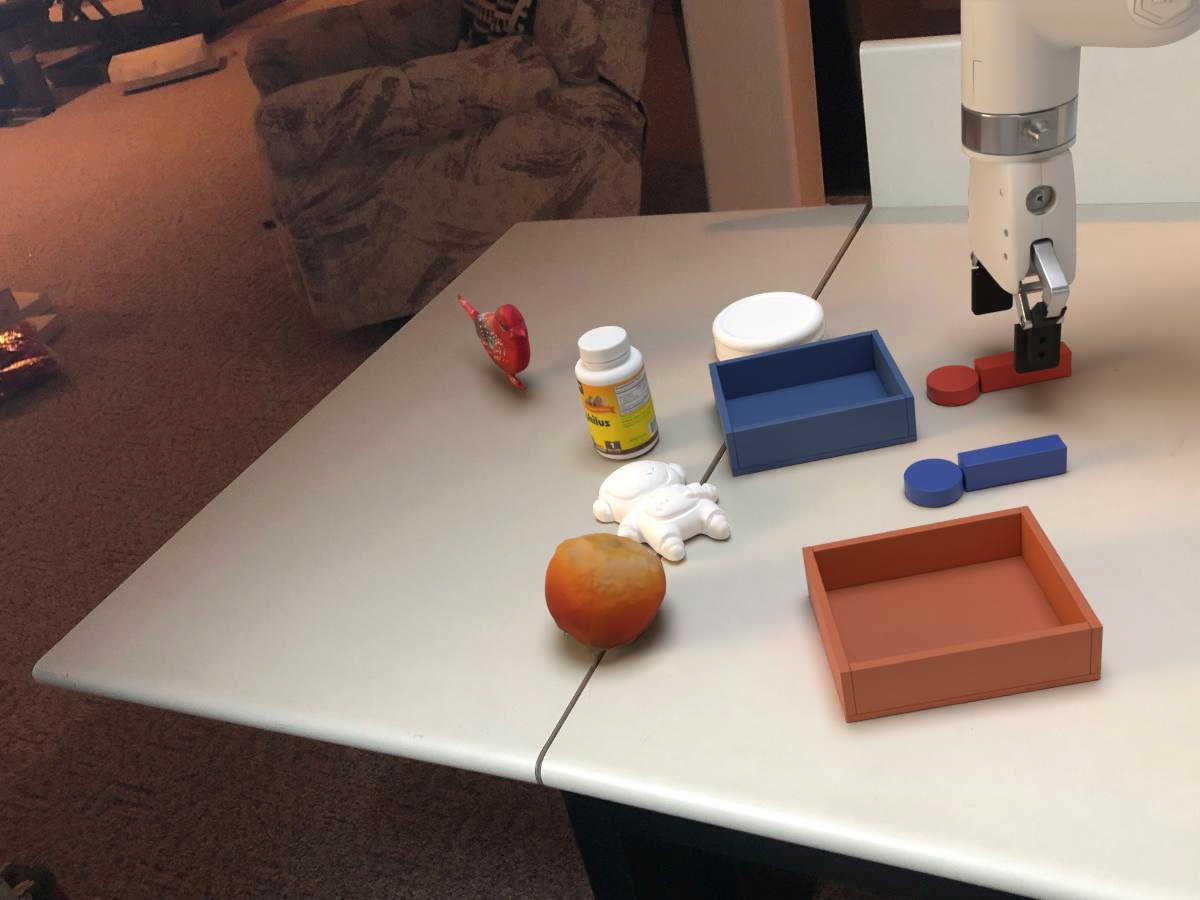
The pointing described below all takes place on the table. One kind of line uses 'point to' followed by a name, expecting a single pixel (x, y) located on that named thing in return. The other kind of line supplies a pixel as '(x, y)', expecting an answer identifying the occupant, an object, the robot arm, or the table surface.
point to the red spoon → (987, 377)
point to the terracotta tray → (949, 614)
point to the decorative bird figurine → (503, 338)
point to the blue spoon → (984, 469)
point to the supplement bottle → (615, 394)
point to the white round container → (767, 324)
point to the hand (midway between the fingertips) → (1013, 338)
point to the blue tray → (812, 402)
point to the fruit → (604, 590)
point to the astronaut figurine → (660, 507)
